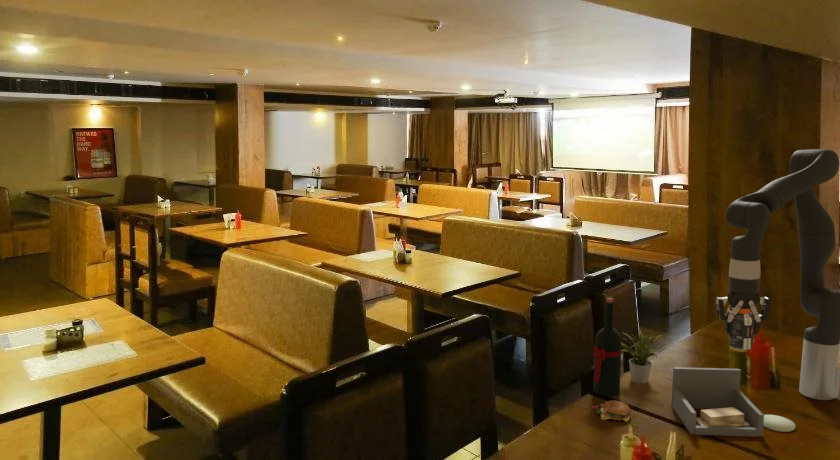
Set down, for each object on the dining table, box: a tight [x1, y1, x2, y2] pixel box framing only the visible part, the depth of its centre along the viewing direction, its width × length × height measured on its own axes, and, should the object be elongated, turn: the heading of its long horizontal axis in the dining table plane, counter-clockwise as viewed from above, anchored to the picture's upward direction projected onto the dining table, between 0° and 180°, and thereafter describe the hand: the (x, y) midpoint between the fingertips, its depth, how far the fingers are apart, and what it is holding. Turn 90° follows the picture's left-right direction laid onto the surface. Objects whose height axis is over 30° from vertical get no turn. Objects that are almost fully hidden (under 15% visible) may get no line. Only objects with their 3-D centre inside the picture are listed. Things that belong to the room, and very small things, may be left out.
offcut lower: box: [696, 416, 750, 427], centre depth 170 cm, size 13×5×2 cm, turn 92°
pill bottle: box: [728, 309, 754, 351], centre depth 171 cm, size 6×6×11 cm
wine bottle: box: [592, 297, 622, 397], centre depth 191 cm, size 8×10×30 cm
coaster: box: [763, 414, 796, 433], centre depth 171 cm, size 9×9×1 cm
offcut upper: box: [699, 407, 744, 426], centre depth 170 cm, size 10×5×2 cm, turn 100°
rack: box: [671, 366, 765, 438], centre depth 173 cm, size 18×18×12 cm
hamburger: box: [591, 399, 632, 423], centre depth 179 cm, size 14×14×6 cm
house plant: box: [621, 329, 664, 384], centre depth 202 cm, size 14×14×16 cm
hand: (741, 333), depth 171 cm, fingers closed on pill bottle, 6 cm apart
